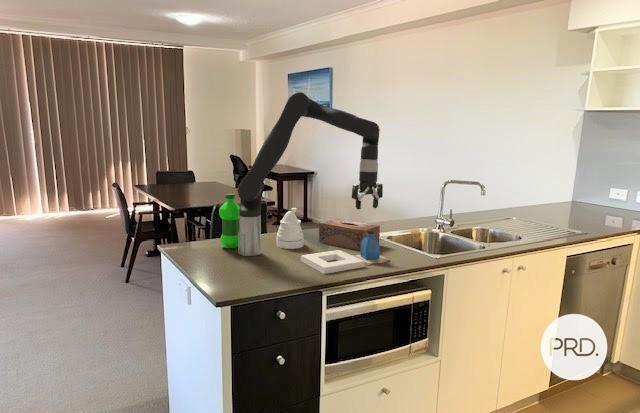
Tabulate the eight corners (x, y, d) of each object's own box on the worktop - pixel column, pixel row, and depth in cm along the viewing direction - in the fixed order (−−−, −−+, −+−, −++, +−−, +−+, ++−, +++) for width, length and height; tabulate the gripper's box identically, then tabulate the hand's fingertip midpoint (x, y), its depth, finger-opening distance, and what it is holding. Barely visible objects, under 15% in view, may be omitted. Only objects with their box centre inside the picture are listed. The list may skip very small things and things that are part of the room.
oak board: (367, 265, 183) (367, 263, 183) (350, 257, 193) (350, 255, 193) (390, 261, 189) (390, 259, 189) (372, 254, 199) (373, 252, 199)
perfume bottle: (366, 260, 187) (366, 232, 185) (360, 256, 193) (361, 229, 191) (379, 259, 189) (380, 231, 187) (373, 255, 194) (374, 228, 192)
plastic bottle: (230, 251, 200) (229, 196, 196) (215, 247, 206) (213, 194, 202) (247, 247, 208) (246, 194, 204) (231, 243, 214) (230, 192, 210)
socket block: (324, 273, 171) (324, 267, 170) (300, 261, 187) (301, 255, 186) (364, 266, 180) (364, 261, 180) (339, 255, 196) (339, 249, 196)
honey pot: (305, 242, 218) (305, 206, 215) (301, 249, 205) (301, 211, 202) (279, 241, 219) (279, 205, 216) (274, 248, 207) (273, 210, 204)
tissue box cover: (379, 245, 215) (379, 225, 213) (362, 251, 204) (363, 230, 202) (336, 237, 231) (336, 218, 229) (318, 242, 220) (319, 222, 218)
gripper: (376, 169, 192) (374, 206, 194) (349, 169, 185) (347, 208, 187) (387, 170, 185) (385, 209, 188) (359, 171, 178) (357, 211, 181)
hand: (366, 208), depth 188 cm, fingers open, 8 cm apart
